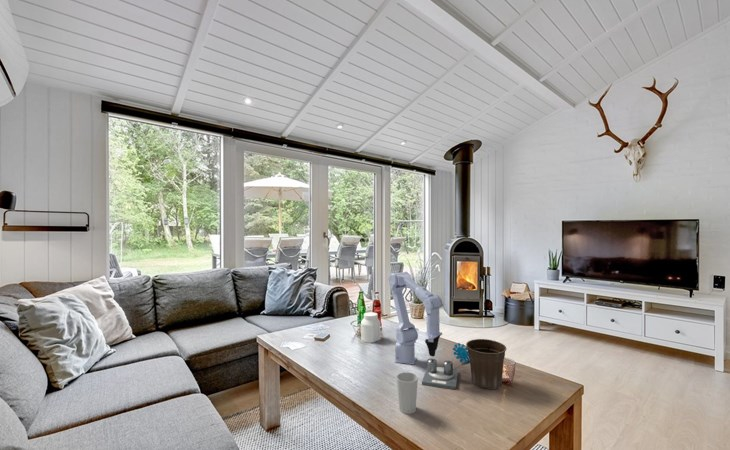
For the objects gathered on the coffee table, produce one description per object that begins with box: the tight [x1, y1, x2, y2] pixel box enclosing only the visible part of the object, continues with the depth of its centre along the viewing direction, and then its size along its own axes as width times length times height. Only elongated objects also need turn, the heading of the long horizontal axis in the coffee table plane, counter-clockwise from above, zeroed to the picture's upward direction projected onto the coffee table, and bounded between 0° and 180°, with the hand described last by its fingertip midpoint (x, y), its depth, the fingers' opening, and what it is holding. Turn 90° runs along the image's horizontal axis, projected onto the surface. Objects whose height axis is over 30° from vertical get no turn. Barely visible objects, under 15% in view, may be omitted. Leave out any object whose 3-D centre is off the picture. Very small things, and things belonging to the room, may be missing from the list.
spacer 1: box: [427, 358, 438, 373], centre depth 150 cm, size 4×4×5 cm
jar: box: [360, 311, 382, 344], centre depth 197 cm, size 12×10×15 cm
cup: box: [396, 371, 419, 415], centre depth 124 cm, size 8×8×12 cm
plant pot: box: [465, 338, 507, 390], centre depth 143 cm, size 16×16×16 cm
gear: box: [452, 342, 470, 364], centre depth 167 cm, size 11×6×10 cm
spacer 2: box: [443, 360, 454, 376], centre depth 148 cm, size 4×4×5 cm
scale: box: [421, 366, 459, 390], centre depth 147 cm, size 14×16×2 cm
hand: (433, 352), depth 151 cm, fingers open, 7 cm apart
